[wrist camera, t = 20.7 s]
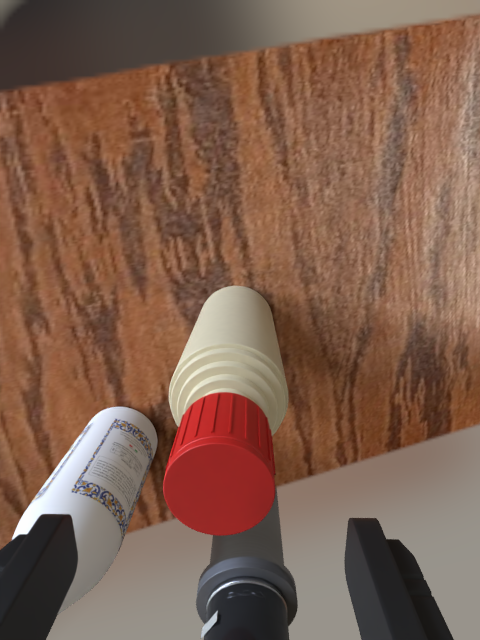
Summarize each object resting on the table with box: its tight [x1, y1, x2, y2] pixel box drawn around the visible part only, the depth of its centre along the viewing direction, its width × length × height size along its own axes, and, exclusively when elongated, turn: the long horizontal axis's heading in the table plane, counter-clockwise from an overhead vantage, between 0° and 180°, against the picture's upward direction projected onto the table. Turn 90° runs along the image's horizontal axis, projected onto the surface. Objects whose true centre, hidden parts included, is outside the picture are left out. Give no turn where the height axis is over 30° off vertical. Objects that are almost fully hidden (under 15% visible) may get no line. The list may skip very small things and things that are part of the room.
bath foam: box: [12, 407, 158, 615], centre depth 28 cm, size 7×7×20 cm
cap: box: [163, 392, 276, 535], centre depth 16 cm, size 4×4×4 cm
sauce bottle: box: [169, 286, 288, 436], centre depth 24 cm, size 6×6×20 cm
